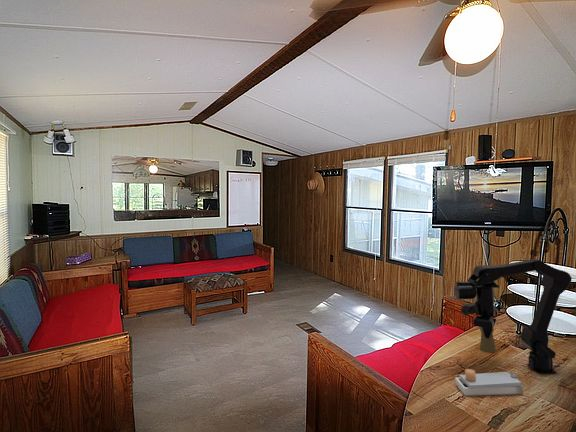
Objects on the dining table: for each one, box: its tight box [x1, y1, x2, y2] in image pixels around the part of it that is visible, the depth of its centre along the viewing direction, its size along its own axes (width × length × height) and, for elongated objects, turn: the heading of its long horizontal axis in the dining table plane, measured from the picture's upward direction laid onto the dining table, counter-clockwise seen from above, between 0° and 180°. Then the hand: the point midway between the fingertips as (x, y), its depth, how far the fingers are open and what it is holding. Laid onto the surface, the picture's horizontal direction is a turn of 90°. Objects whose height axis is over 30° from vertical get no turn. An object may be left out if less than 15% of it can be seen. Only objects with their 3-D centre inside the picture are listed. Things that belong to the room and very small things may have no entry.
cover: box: [459, 368, 523, 389], centre depth 110 cm, size 18×7×4 cm, turn 89°
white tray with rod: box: [454, 376, 524, 397], centre depth 111 cm, size 19×7×2 cm, turn 86°
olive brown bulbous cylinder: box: [479, 327, 497, 354], centre depth 140 cm, size 6×6×11 cm
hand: (487, 338), depth 124 cm, fingers closed
